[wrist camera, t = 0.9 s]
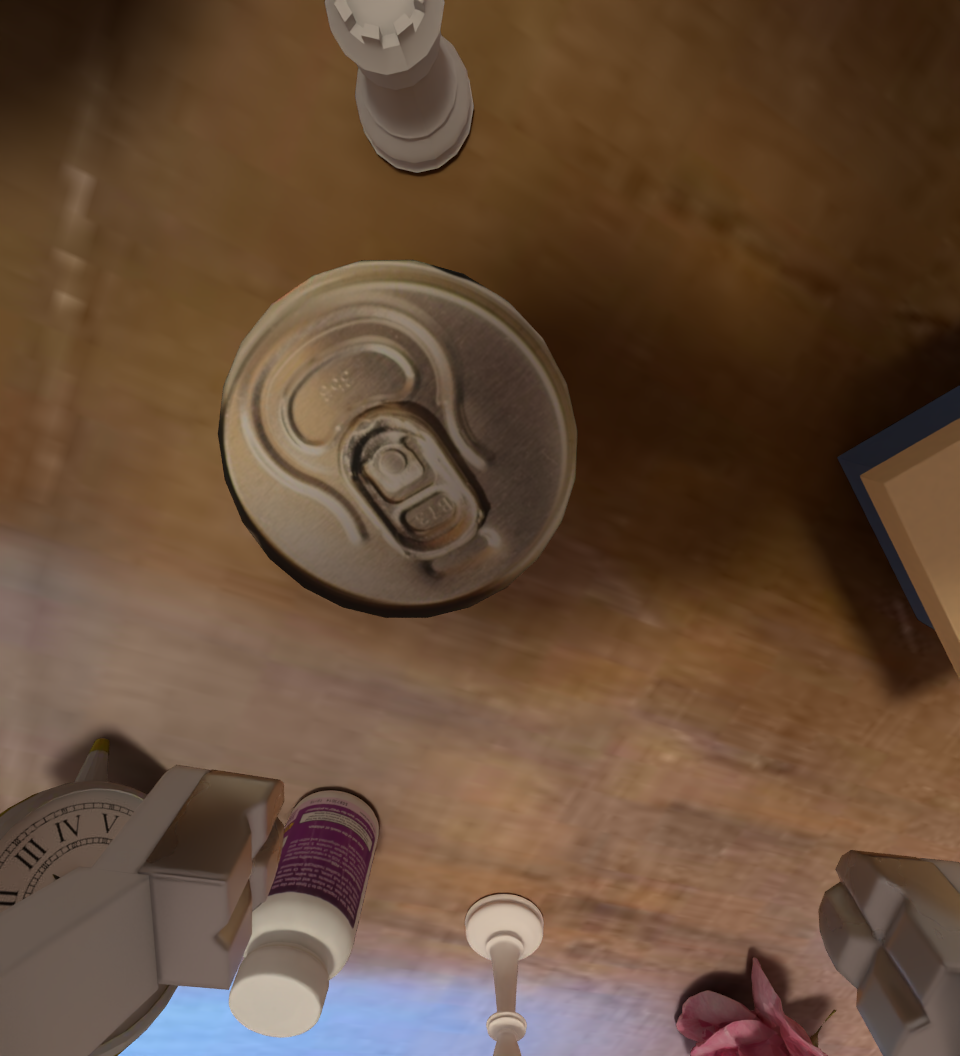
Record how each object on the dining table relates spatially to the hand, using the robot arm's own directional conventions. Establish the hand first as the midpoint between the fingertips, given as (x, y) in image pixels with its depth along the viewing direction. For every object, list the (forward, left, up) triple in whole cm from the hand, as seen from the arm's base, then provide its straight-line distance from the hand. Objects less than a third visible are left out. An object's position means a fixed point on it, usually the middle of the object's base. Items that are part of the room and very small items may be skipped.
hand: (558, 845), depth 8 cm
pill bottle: (+19, +11, -20) cm, 29 cm away
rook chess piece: (-6, -15, -20) cm, 26 cm away
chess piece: (+15, +23, -20) cm, 33 cm away
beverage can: (0, -5, -20) cm, 20 cm away
